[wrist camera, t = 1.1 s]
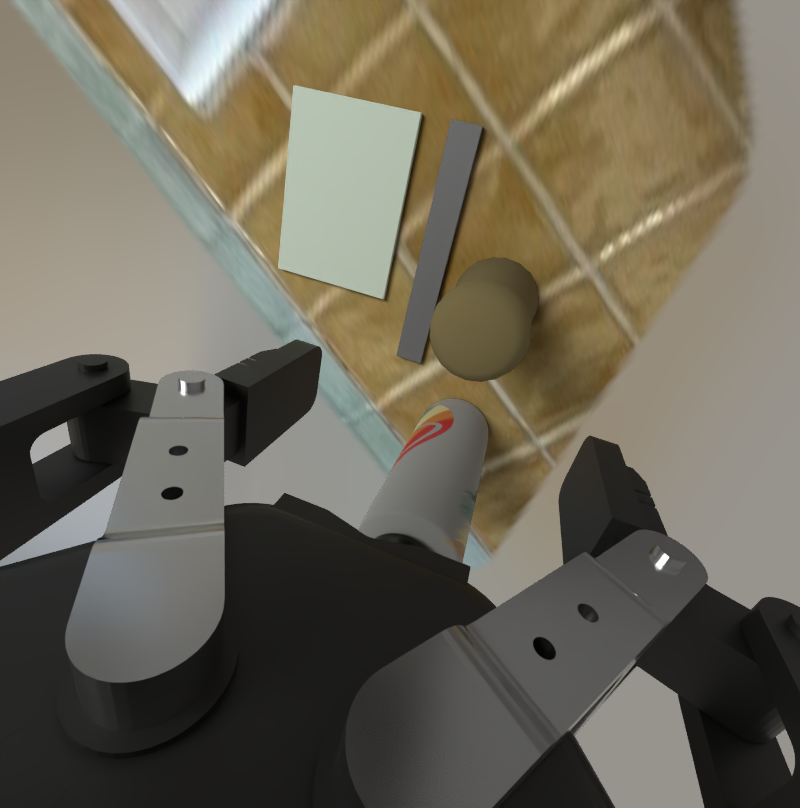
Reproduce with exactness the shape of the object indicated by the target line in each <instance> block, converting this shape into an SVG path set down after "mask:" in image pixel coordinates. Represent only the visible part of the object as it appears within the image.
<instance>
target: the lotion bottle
mask: <svg viewBox="0 0 800 808" xmlns="http://www.w3.org/2000/svg"><path fill="white" fill-rule="evenodd" d="M487 443H488V425H487V422H486V420H485V417H484V416H483V414H482V413H481V412H480V411H479V410H478V409H477V408H476V407H475V406H474V405H472V404H470V403H469V402H466V401H463V400H460V399H445V400H441V401H439V402H437V403H435V404H433V405H432V406H431V407H429V408H428V410H427V411H426V412H425V413H424V415H423V416H422V418H421V419H420V421H419V423H418V425H417V426H416V428H415V430H414V431H413V433H412V435H411V437H410V438H409V440H408V442H407V444H406V445H405V447H404V449H403V451H402V452H401V454H400V456H399V457H398V459H397V461H396V463H395V464H394V466H393V468H392V470H391V471H390V473H389V475H388V477H387V478H386V480H385V482H384V484H383V485H382V487H381V489H380V490H379V492H378V494H377V496H376V498H375V499H374V501H373V503H372V504H371V506H370V508H369V510H368V512H367V513H366V515H365V517H364V519H363V521H362V523H361V524H360V526H359V529H358V531H360V532H361V533H363V534H364V535H366V536H368V537H371V538H374V539H379V540H385V541H390V542H396V543H401V544H406V545H412V546H417V547H422V548H425V549H427V550H430V551H432V552H435V553H437V554H440V555H443V556H445V557H448V558H450V559H453V560H455V561H458V562H460V563H462V562H463V557H464V553H465V548H466V544H467V539H468V534H469V529H470V525H471V520H472V515H473V510H474V506H475V501H476V496H477V491H478V486H479V482H480V477H481V472H482V467H483V463H484V458H485V453H486V448H487Z"/></svg>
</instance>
